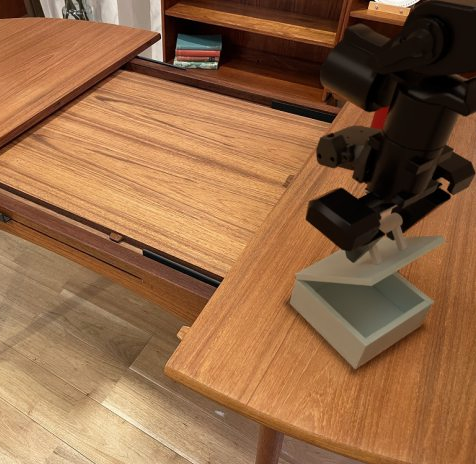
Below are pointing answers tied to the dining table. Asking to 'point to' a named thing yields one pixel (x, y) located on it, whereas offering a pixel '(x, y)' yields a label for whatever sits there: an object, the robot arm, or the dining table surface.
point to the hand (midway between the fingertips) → (370, 248)
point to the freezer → (361, 314)
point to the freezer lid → (373, 257)
